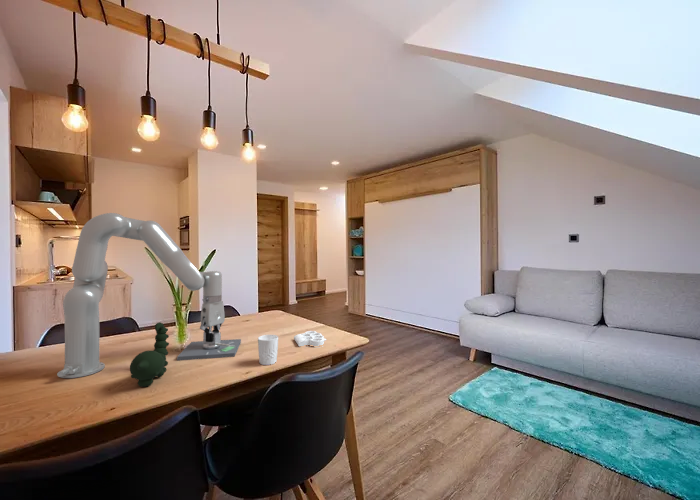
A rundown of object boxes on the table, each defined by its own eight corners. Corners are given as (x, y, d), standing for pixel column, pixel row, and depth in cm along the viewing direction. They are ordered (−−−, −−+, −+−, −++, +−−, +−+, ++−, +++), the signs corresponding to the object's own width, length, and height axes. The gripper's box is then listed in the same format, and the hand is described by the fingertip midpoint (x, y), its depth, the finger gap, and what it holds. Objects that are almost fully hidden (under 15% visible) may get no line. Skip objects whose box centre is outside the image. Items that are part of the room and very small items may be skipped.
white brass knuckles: (292, 339, 154) (320, 336, 159) (299, 350, 137) (330, 346, 142) (292, 332, 154) (320, 329, 159) (299, 343, 137) (330, 339, 142)
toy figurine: (147, 371, 115) (120, 396, 92) (149, 321, 117) (122, 332, 93) (175, 368, 118) (155, 392, 94) (176, 319, 120) (157, 330, 96)
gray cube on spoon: (212, 343, 139) (212, 329, 139) (235, 347, 134) (235, 332, 134) (199, 348, 132) (199, 333, 132) (223, 352, 127) (223, 337, 127)
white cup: (282, 361, 123) (282, 336, 123) (267, 367, 116) (268, 341, 116) (268, 357, 127) (268, 333, 127) (253, 363, 120) (253, 338, 120)
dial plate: (234, 356, 127) (234, 352, 127) (177, 360, 122) (177, 356, 122) (240, 342, 146) (240, 338, 146) (191, 344, 142) (191, 341, 142)
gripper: (205, 302, 125) (205, 347, 125) (232, 296, 141) (231, 336, 141) (190, 301, 127) (190, 345, 127) (218, 295, 143) (218, 334, 143)
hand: (212, 339), depth 134 cm, fingers closed on gray cube on spoon, 3 cm apart
